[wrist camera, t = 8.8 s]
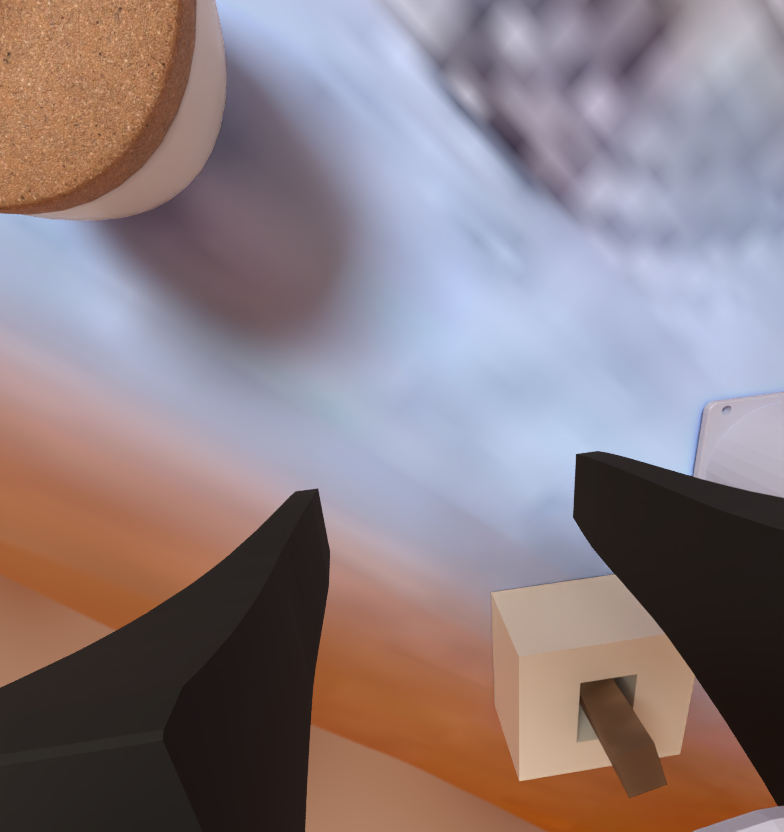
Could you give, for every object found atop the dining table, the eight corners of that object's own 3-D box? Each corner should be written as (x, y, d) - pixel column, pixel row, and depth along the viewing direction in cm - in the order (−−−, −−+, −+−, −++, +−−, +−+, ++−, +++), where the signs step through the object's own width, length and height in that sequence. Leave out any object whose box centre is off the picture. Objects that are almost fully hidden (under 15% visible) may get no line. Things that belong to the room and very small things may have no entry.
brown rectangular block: (577, 622, 25) (654, 742, 19) (589, 658, 26) (667, 784, 20) (547, 634, 25) (614, 757, 19) (561, 669, 26) (629, 798, 20)
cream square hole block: (645, 569, 25) (704, 628, 21) (631, 683, 28) (679, 754, 24) (491, 592, 25) (518, 656, 20) (494, 704, 28) (519, 781, 23)
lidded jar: (81, 279, 17) (-212, 273, 8) (-104, -22, 14) (-931, -572, 5) (306, 186, 17) (248, 75, 8) (173, -149, 13) (-192, -1003, 5)
